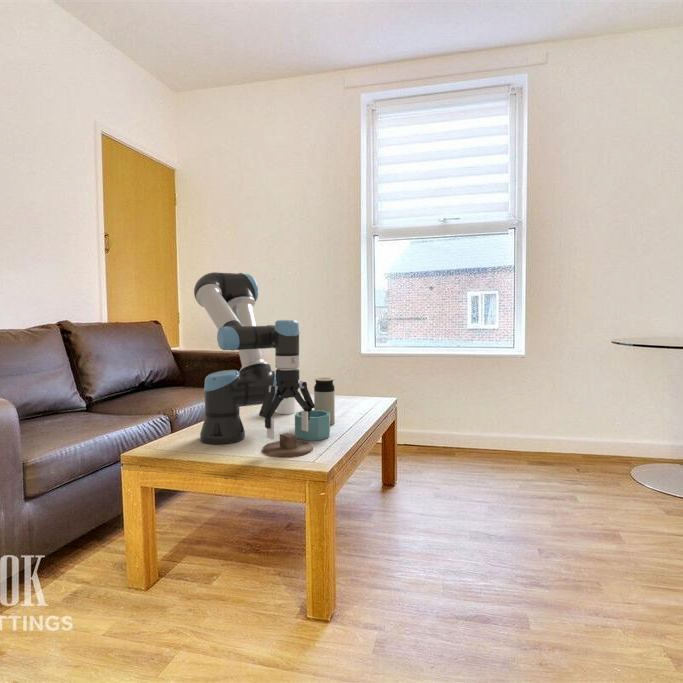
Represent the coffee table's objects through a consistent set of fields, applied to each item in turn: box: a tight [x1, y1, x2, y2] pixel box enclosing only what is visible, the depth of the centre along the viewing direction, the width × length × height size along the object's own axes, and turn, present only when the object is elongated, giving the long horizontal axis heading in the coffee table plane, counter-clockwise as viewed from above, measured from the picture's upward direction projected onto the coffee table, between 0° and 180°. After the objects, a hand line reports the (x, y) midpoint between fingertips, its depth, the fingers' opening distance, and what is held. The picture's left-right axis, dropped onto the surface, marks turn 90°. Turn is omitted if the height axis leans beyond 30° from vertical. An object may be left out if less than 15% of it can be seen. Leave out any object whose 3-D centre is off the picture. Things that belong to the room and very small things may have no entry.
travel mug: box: [313, 376, 336, 426], centre depth 185 cm, size 8×8×18 cm
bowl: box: [294, 409, 331, 442], centre depth 167 cm, size 12×12×8 cm
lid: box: [262, 432, 314, 458], centre depth 151 cm, size 16×16×5 cm
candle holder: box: [275, 397, 297, 415], centre depth 206 cm, size 10×10×12 cm
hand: (288, 434), depth 151 cm, fingers open, 13 cm apart
